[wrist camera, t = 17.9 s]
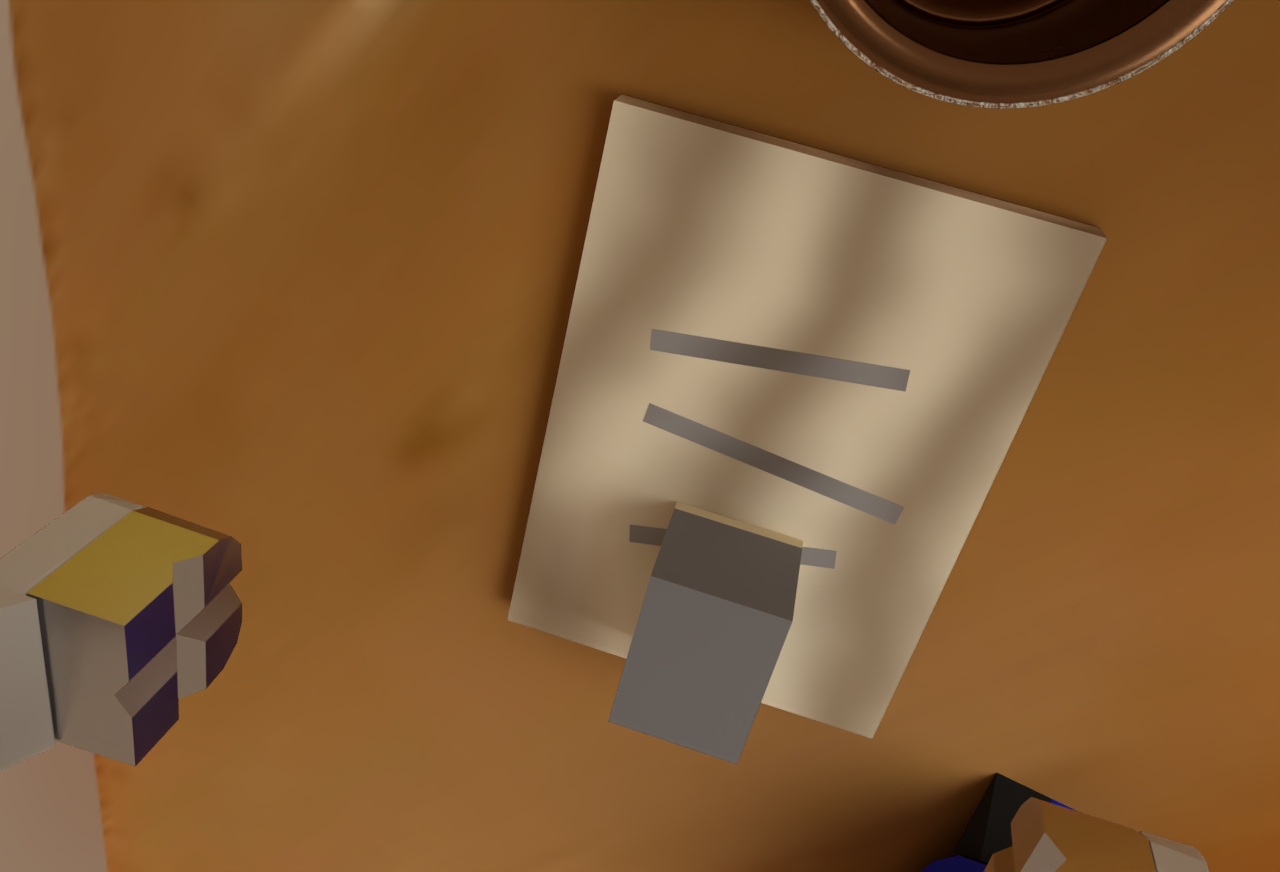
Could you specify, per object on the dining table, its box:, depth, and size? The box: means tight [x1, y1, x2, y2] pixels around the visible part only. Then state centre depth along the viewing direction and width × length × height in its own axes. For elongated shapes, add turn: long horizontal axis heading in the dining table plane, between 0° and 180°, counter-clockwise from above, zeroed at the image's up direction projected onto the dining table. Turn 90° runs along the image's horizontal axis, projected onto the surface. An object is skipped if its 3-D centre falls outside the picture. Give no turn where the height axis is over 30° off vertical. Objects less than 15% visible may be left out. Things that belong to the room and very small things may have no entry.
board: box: [507, 95, 1107, 739], centre depth 38 cm, size 16×22×1 cm
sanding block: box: [608, 502, 803, 764], centre depth 38 cm, size 5×7×5 cm
